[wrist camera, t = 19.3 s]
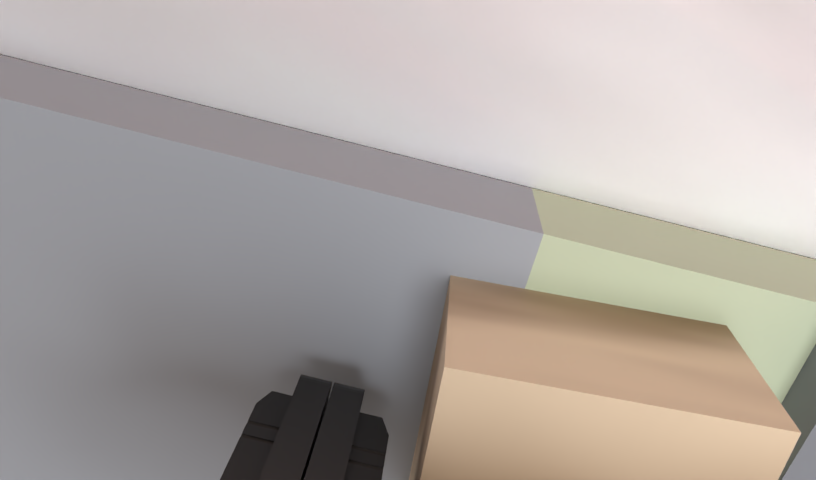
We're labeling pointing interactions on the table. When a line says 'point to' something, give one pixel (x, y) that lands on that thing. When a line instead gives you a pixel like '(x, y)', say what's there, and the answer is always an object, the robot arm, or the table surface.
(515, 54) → the table surface
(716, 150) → the table surface
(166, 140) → the board
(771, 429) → the beech block
